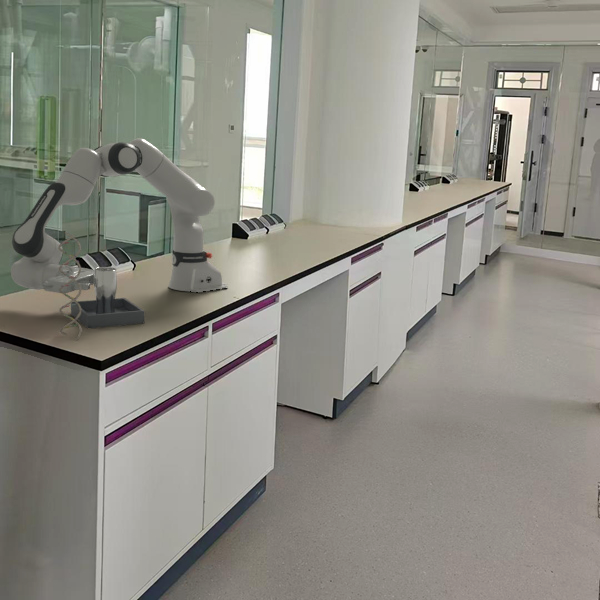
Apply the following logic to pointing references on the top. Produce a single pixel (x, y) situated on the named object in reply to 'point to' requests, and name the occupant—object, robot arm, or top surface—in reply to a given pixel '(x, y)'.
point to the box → (108, 314)
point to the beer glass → (105, 289)
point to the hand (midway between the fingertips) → (97, 284)
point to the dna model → (71, 284)
